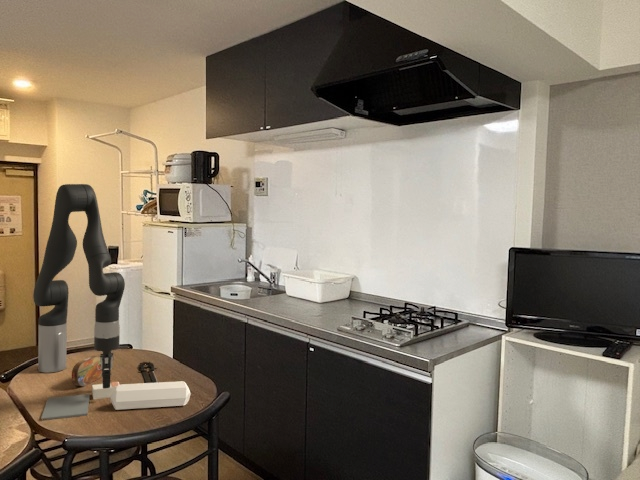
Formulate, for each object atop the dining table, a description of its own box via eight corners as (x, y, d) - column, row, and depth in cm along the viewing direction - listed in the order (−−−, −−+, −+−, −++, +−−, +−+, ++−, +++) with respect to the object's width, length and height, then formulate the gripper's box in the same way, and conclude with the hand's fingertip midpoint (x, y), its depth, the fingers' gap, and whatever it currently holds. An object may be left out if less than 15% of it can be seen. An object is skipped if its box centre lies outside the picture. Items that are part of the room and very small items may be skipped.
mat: (47, 399, 156) (47, 398, 156) (89, 395, 161) (89, 393, 161) (41, 420, 141) (41, 418, 141) (87, 415, 146) (87, 413, 146)
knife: (158, 386, 173) (158, 382, 173) (138, 388, 170) (138, 384, 170) (155, 364, 196) (155, 360, 196) (138, 365, 194) (138, 361, 194)
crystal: (107, 402, 147) (190, 397, 153) (110, 383, 153) (191, 379, 159) (109, 418, 151) (190, 412, 157) (112, 398, 157) (190, 394, 163)
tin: (77, 389, 166) (78, 365, 165) (69, 388, 166) (69, 364, 166) (105, 375, 180) (106, 352, 180) (98, 374, 181) (98, 352, 180)
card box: (92, 395, 162) (92, 384, 162) (118, 391, 166) (118, 381, 165) (93, 400, 158) (93, 389, 158) (120, 396, 162) (120, 385, 162)
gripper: (95, 329, 166) (94, 377, 166) (93, 340, 152) (93, 392, 153) (119, 328, 168) (118, 375, 169) (119, 338, 155) (119, 389, 156)
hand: (106, 383), depth 161 cm, fingers open, 8 cm apart
